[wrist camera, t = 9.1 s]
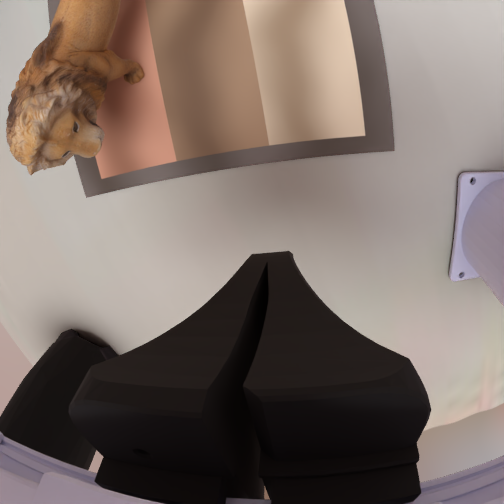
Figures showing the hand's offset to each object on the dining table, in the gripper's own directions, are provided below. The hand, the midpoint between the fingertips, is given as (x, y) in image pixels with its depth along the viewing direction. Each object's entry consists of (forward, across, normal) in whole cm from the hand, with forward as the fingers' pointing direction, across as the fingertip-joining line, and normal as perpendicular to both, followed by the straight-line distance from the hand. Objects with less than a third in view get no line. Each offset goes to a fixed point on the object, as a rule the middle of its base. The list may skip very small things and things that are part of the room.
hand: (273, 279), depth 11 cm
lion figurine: (+9, +7, -11) cm, 16 cm away
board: (+9, +3, -10) cm, 14 cm away
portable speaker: (+10, +20, +14) cm, 26 cm away
